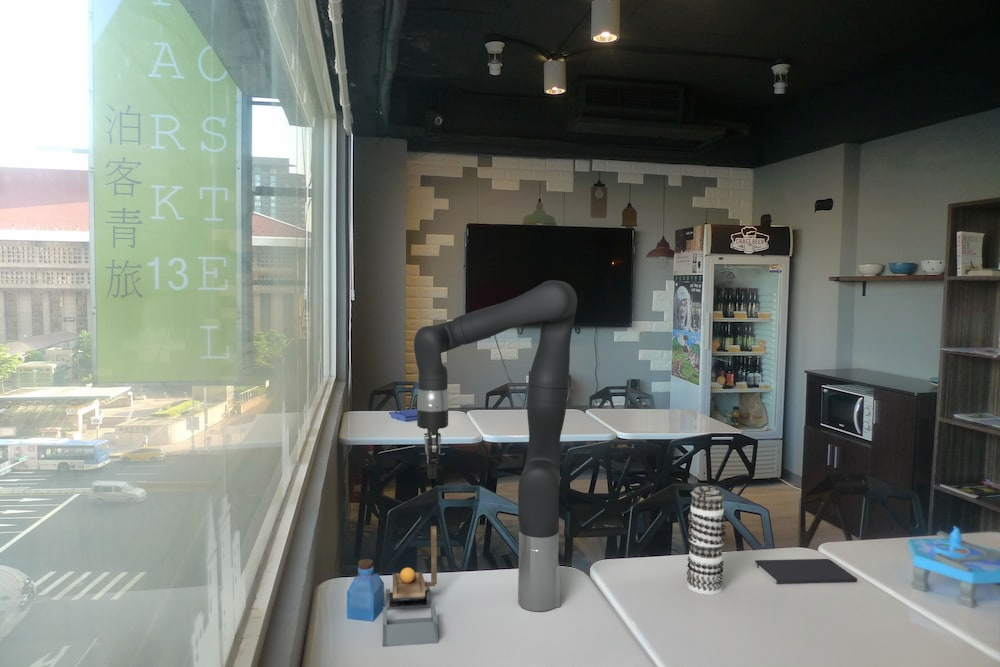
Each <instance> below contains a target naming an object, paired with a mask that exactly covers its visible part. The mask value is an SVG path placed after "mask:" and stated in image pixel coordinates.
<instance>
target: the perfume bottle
mask: <svg viewBox="0 0 1000 667" xmlns="http://www.w3.org/2000/svg"><path fill="white" fill-rule="evenodd" d="M373 562H374V561H373V560H372V559H370V558H365V559H364V558H363V559H361V560H359V561H358V567H357V574H356V576H355V577H354V578H353V579H352V581H351V583H350V585H349V586H348V588H347V591H346V619H347V620H354V621H355V620H356V621H363V622H373V623H374V622H375V621H376V620H377V619H378V617H379V615H380V614H381V613H383V611H382V610H383V607H385V583H384V581H383V579H382V578H381V577H380V575H379V574H378V573H375V572H374V570H375V569H374V565H373Z"/></svg>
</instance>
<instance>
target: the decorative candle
mask: <svg viewBox="0 0 1000 667" xmlns="http://www.w3.org/2000/svg"><path fill="white" fill-rule="evenodd" d="M690 495H691V504H690V511H689V513H688V514H687V519H688V520H687V525H688V526H689V527H688V529H687V533H688V536H687V539H688V542H690V543H689V547H690V548H689V551H688V552H689V553H688V557H687V565H686V566H687V568H688V569H687V570H686V574H687V577H686V581H687V584H686V587H687V588H688V589H689V591H692V592H694V593H697V594H701V595H707V596H709V595H710V596H711V595H712V596H714V595H719V594H721V593H722V592H723V585H724V584H723V583H724V581H723V580H724V575H723V572H724V561H723V553H722V552H723V550H722V549H723V546H724V545H725V539H723V537H724V536H726V532H725V530H726V525H725V524H724V523H725V522H726V521H727V517H726V515H727V513H728V512H727V511H725V507H724V498H725V497H726V495H725V494H724V493H722V491H721V489H720V488H718V487H715V486H712V485H698V486H696V487H695V488H694V489H693V490H692V491H690Z"/></svg>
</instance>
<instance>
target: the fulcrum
mask: <svg viewBox="0 0 1000 667" xmlns="http://www.w3.org/2000/svg"><path fill="white" fill-rule="evenodd" d="M385 591H386V592H385V593H386V594H385V597H386V598H385V603H386V604H385V607H386V606H387V611H392V610H391V609H393V611H394V609H396V610H411V609H426V608H431V589H430V587H425V597H408V598H393V591H392V592H391V589H390V588H389V589H388V588H387V589H386V590H385Z"/></svg>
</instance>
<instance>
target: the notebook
mask: <svg viewBox="0 0 1000 667" xmlns="http://www.w3.org/2000/svg"><path fill="white" fill-rule="evenodd" d="M754 563H755V567H757V569H759V570H760V571H762V572H763V573H764V574H765V575H766V576H767V577H769V578H770V579H771V580H772V581H773V582H774V583H776V585H798V584H799V585H800V584H801V585H802V584H805V585H806V584H834V583H835V584H836V583H838V584H840V583H857V582H858V579H857V577H855V576H854V575H853V574H851V573H850V572H849V571H847V570H846V569H844V568H842V567H841V565H839V564H838V563H835V561H833V560H832V559H829V558H811V559H810V558H807V559H805V558H804V559H802V558H801V559H799V558H798V559H760V560H759V559H757V560H754Z"/></svg>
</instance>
